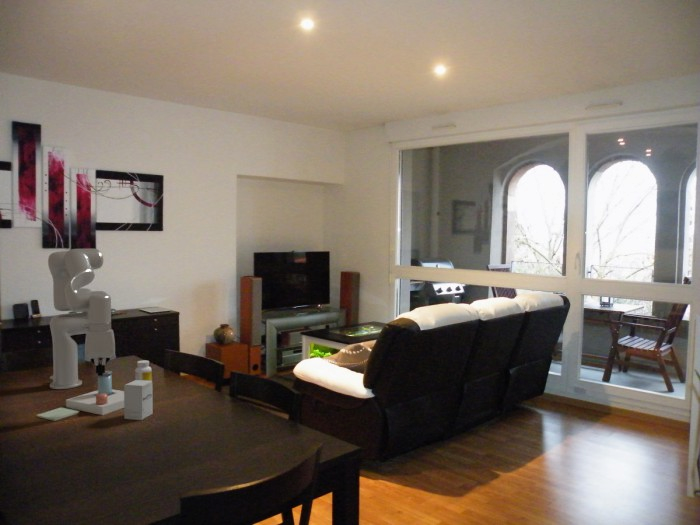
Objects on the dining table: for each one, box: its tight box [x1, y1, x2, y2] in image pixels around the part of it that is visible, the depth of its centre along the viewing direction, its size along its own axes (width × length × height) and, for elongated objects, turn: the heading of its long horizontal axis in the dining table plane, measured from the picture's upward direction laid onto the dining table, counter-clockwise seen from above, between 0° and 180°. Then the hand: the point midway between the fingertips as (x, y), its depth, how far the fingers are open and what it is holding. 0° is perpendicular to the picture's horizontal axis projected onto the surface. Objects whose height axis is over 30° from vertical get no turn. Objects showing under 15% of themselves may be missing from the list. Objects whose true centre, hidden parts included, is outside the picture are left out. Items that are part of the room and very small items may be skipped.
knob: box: [96, 393, 108, 404], centre depth 206 cm, size 4×4×6 cm
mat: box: [36, 406, 80, 422], centre depth 202 cm, size 10×10×1 cm
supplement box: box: [123, 379, 154, 421], centre depth 200 cm, size 7×7×13 cm
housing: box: [65, 388, 124, 416], centre depth 214 cm, size 20×18×3 cm
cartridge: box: [96, 369, 113, 396], centre depth 218 cm, size 6×6×12 cm
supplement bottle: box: [134, 359, 153, 382], centre depth 231 cm, size 7×7×13 cm
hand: (100, 374), depth 206 cm, fingers closed
